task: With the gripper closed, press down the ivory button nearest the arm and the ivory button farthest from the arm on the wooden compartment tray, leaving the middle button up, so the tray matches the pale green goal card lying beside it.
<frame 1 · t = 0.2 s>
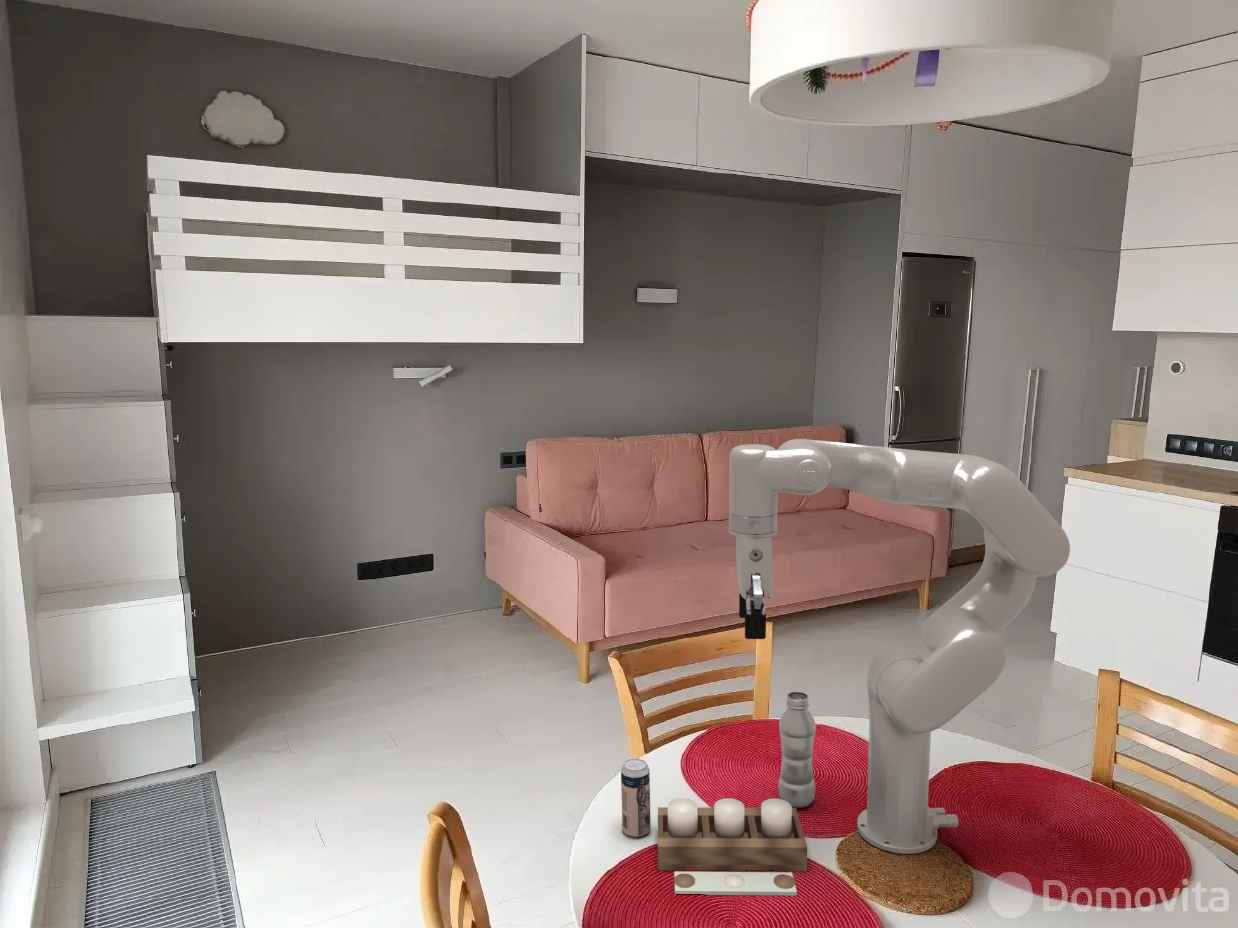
hand: (751, 627, 137), 36 cm above the table, tool pointing down, fingers open, 9 cm apart
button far: (682, 818, 138), point 5 cm above the table, slide at 0.0 cm
button mid: (729, 818, 137), point 5 cm above the table, slide at 0.0 cm
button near: (776, 819, 137), point 5 cm above the table, slide at 0.0 cm
beer can: (636, 831, 144), on the table
plastic bottle: (796, 803, 151), on the table
wooden compartment tray: (729, 849, 138), on the table
goal card: (734, 884, 129), on the table
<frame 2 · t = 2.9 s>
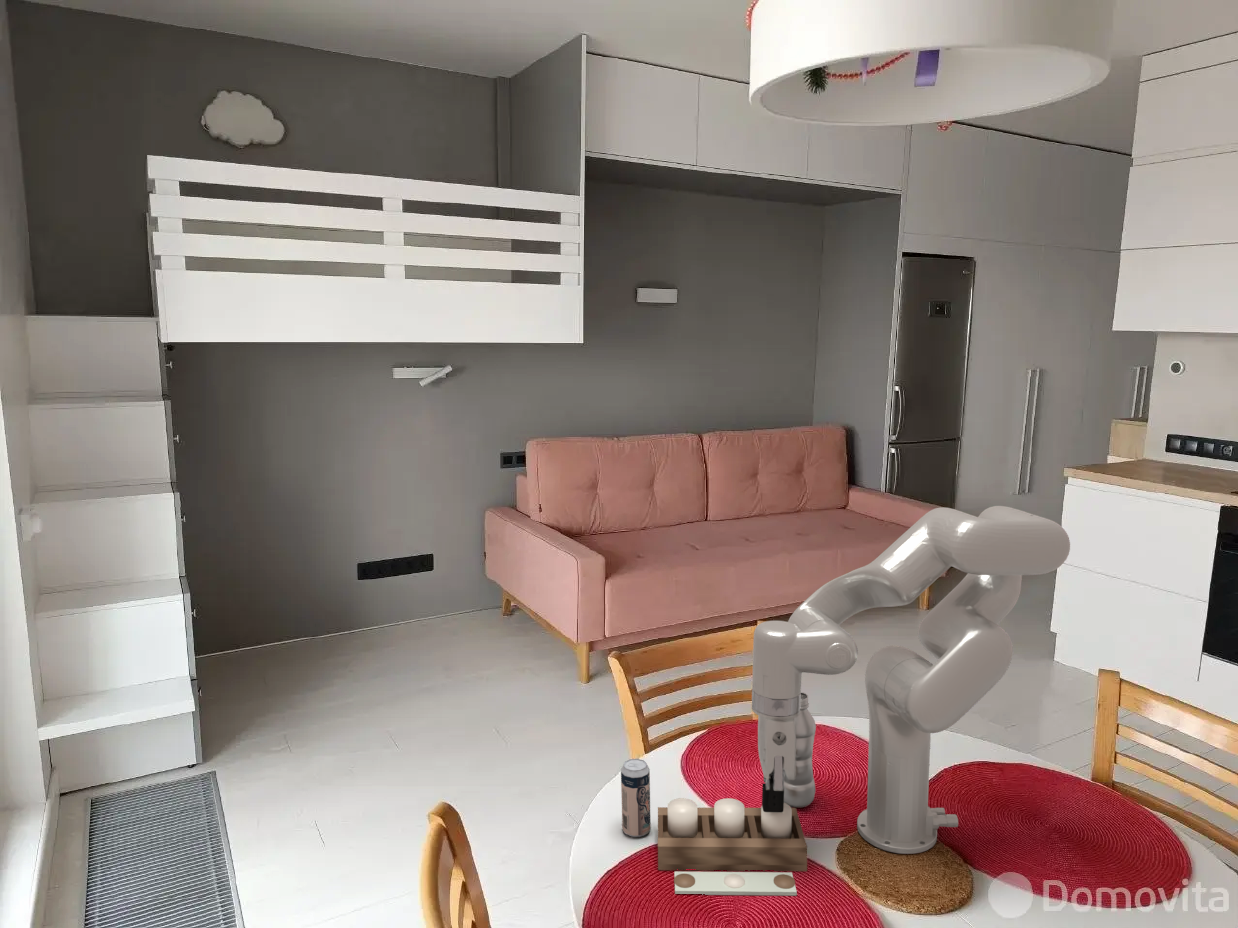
hand: (772, 809, 136), 7 cm above the table, tool pointing down, fingers closed
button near: (776, 821, 137), point 5 cm above the table, slide at 0.4 cm, touching gripper
everything else where it was.
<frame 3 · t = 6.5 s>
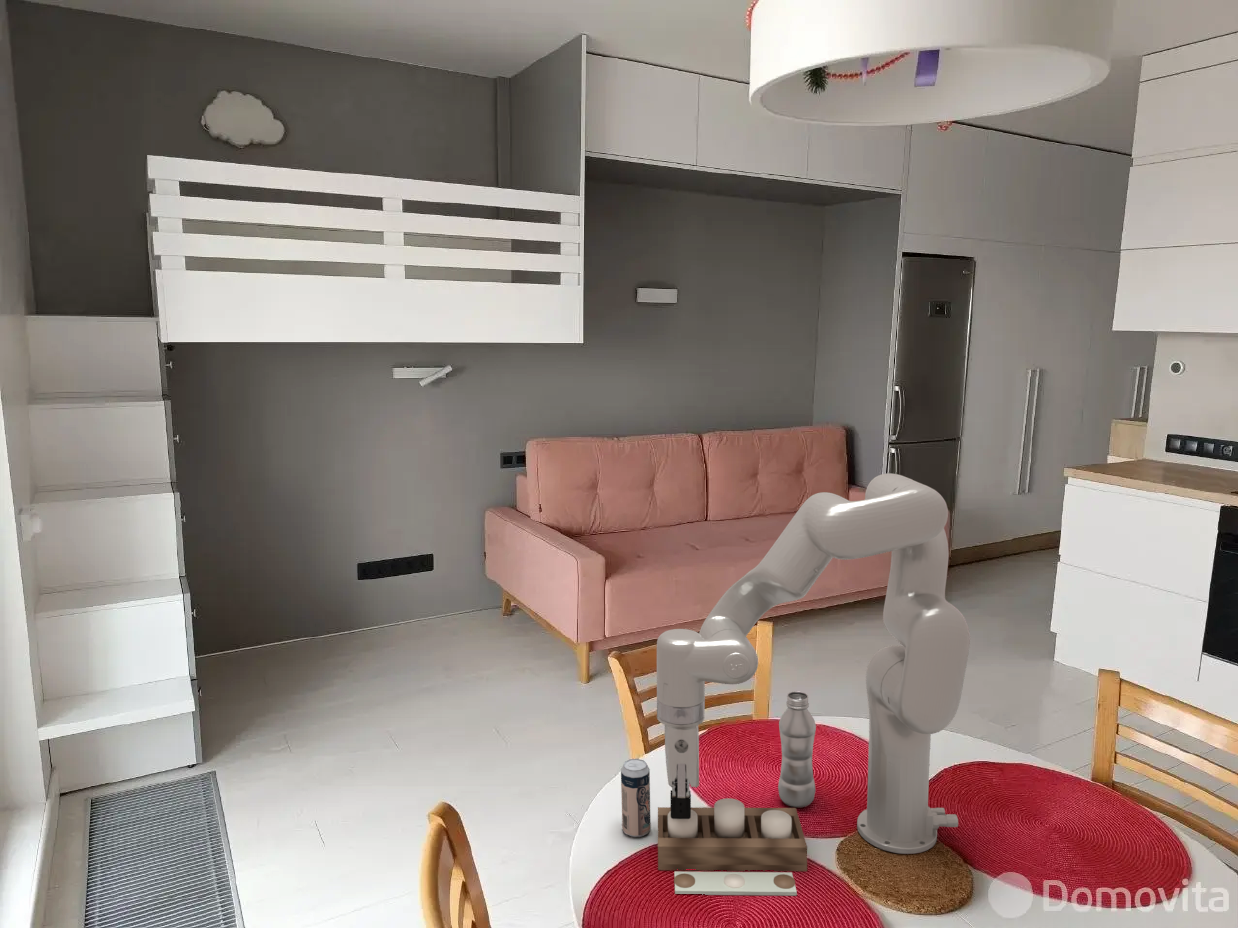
hand: (680, 815, 138), 6 cm above the table, tool pointing down, fingers closed
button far: (682, 828, 138), point 4 cm above the table, slide at 1.7 cm, touching gripper
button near: (776, 830, 137), point 3 cm above the table, slide at 2.0 cm
everything else where it was.
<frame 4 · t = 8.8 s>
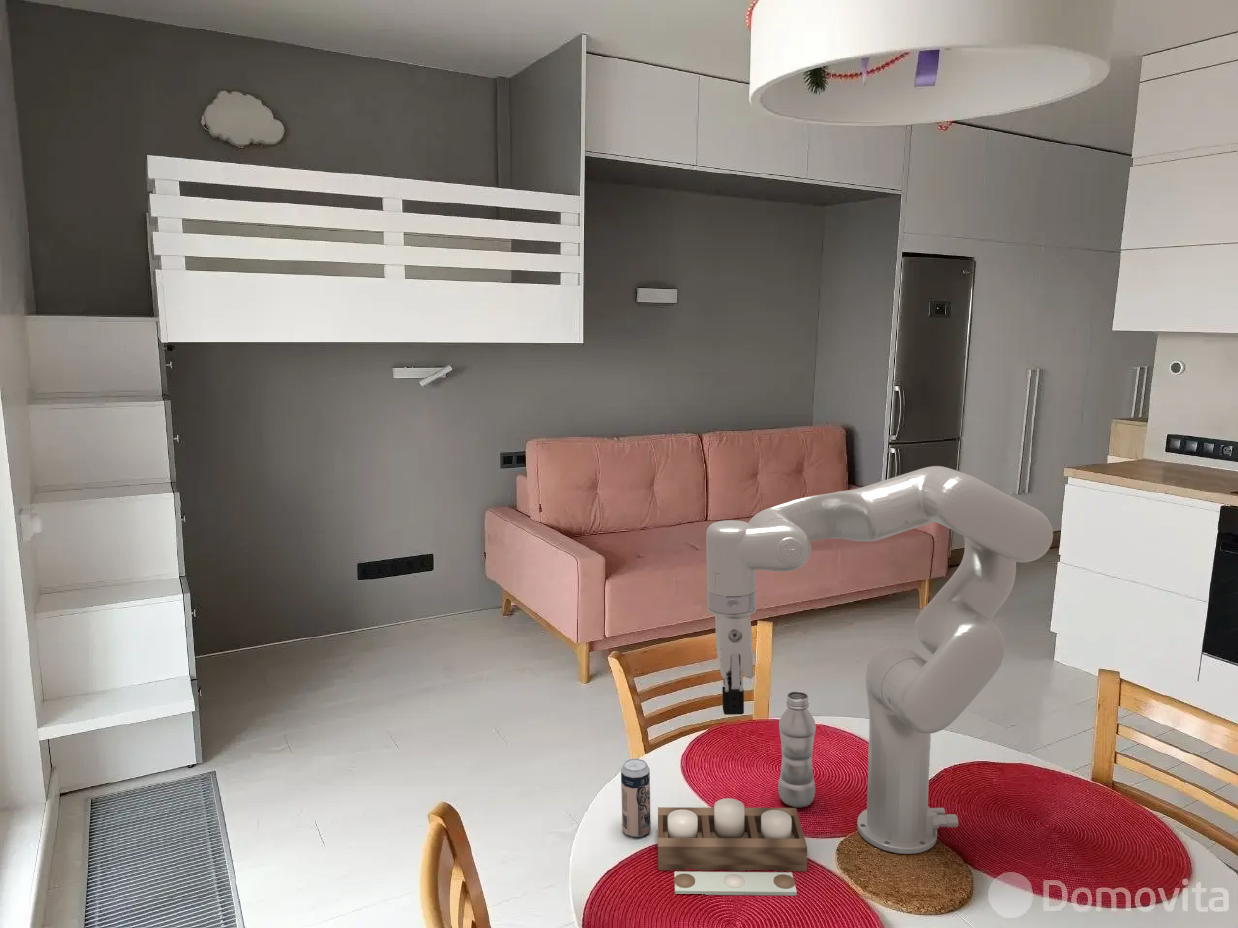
hand: (733, 712, 135), 23 cm above the table, tool pointing down, fingers closed
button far: (682, 830, 138), point 3 cm above the table, slide at 2.0 cm
everything else where it was.
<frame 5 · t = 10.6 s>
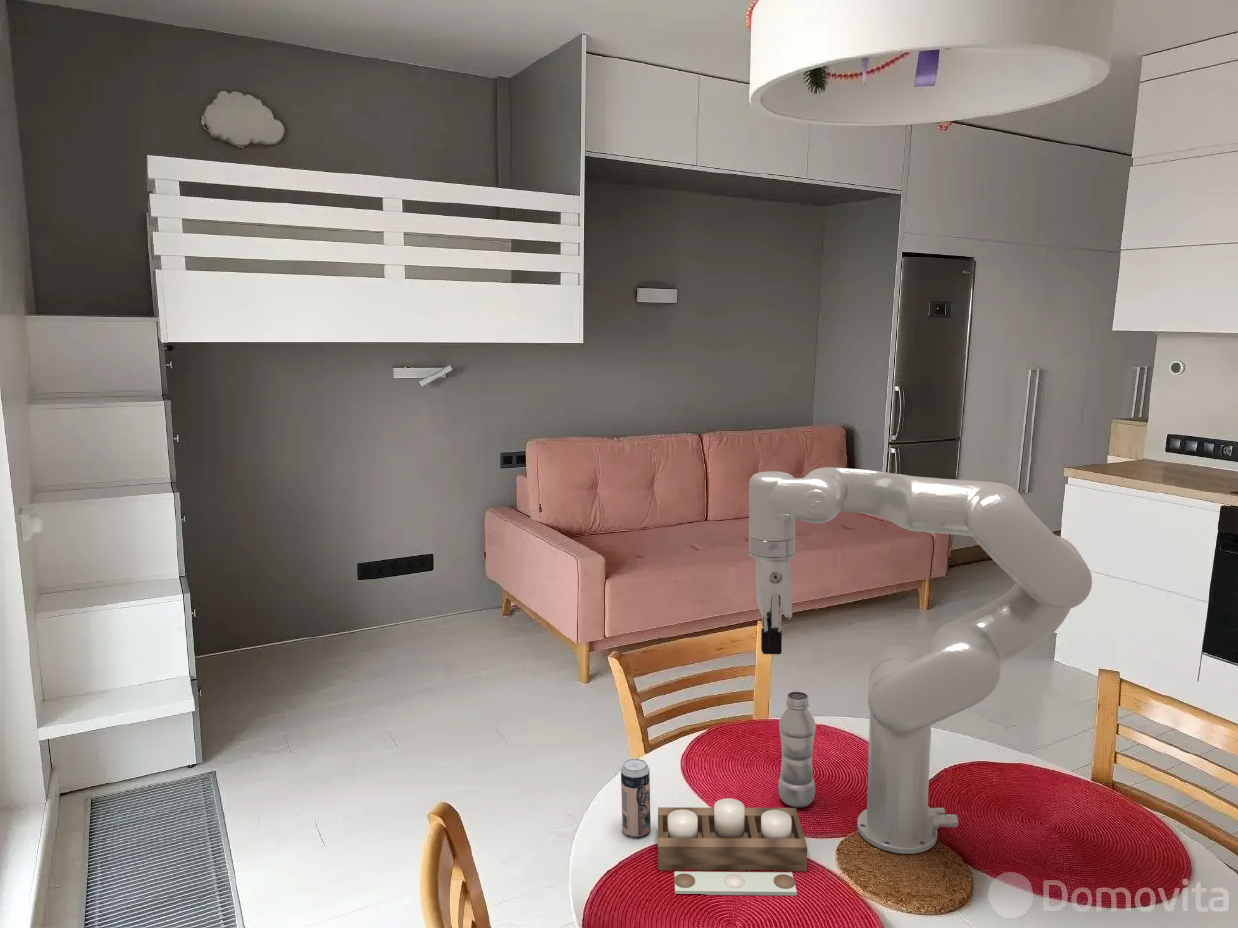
hand: (771, 652, 144), 29 cm above the table, tool pointing down, fingers closed
nothing on the table moved.
at the end: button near slide at 2.0 cm; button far slide at 2.0 cm; button mid slide at 0.0 cm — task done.
